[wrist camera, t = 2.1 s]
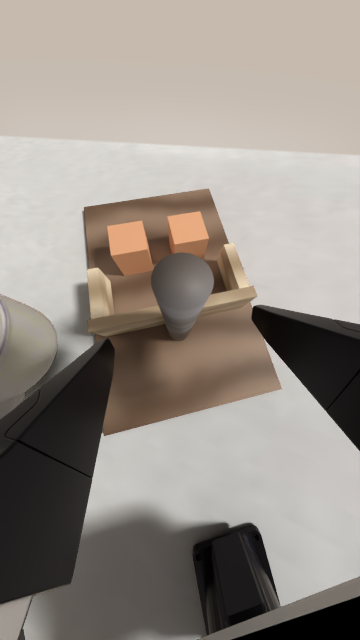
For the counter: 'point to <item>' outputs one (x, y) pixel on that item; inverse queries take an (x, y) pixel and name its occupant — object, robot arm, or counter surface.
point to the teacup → (22, 350)
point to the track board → (155, 342)
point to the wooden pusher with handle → (172, 295)
